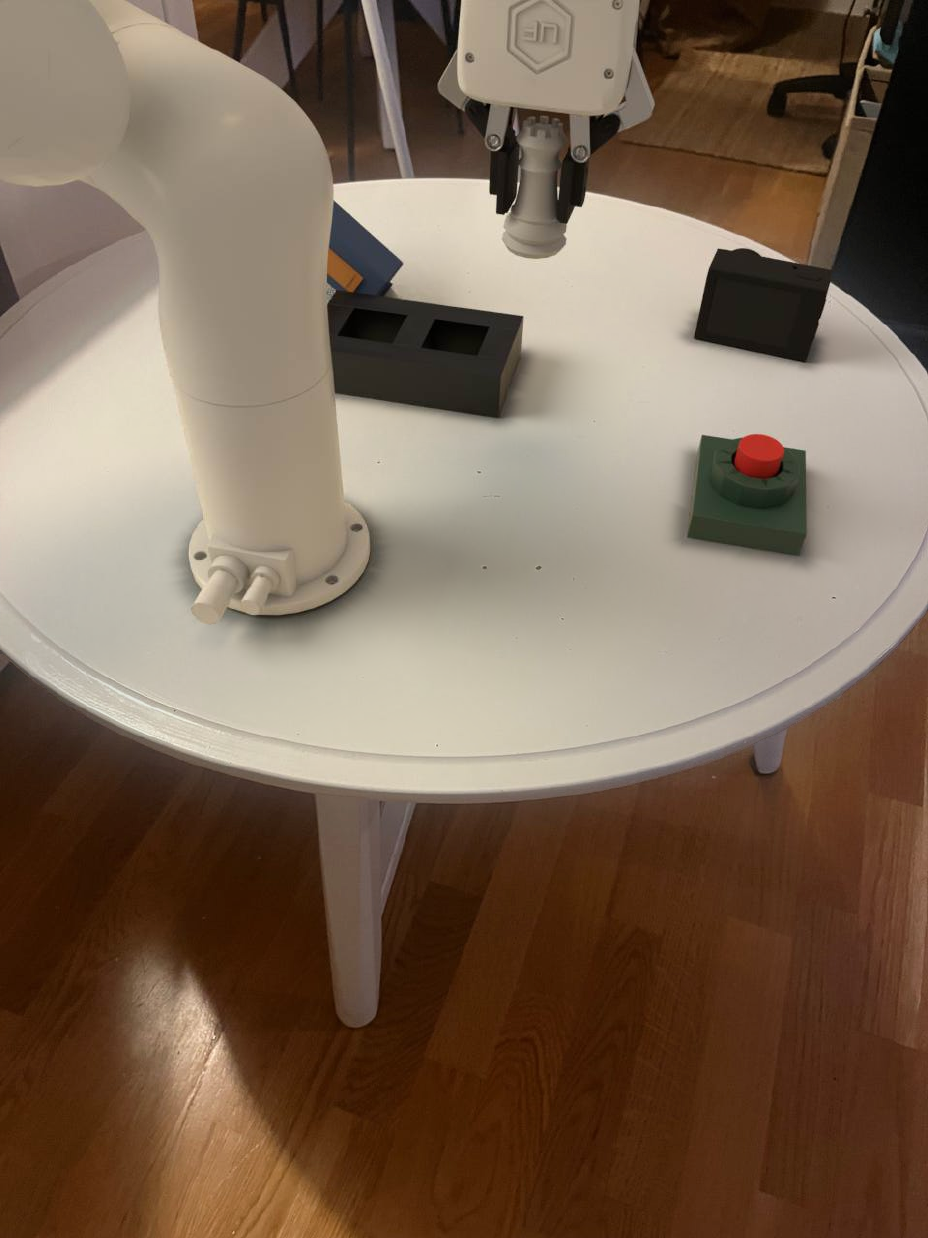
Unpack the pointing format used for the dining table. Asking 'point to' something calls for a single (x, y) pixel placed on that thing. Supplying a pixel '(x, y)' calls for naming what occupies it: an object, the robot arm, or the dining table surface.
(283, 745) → the dining table surface
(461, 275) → the dining table surface
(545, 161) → the rook chess piece
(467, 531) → the dining table surface
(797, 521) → the switch box
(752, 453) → the power button
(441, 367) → the holder
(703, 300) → the digital camera
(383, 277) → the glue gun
